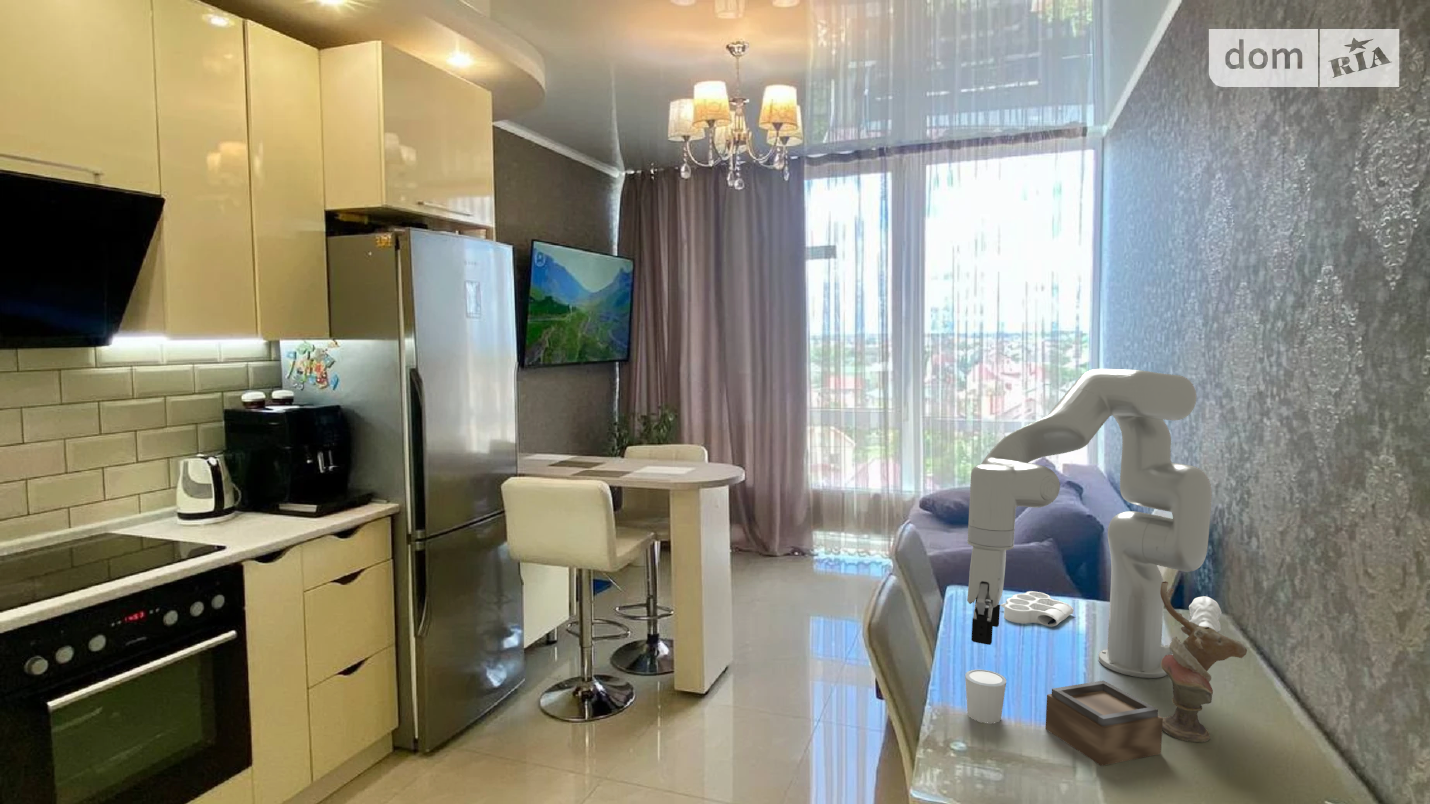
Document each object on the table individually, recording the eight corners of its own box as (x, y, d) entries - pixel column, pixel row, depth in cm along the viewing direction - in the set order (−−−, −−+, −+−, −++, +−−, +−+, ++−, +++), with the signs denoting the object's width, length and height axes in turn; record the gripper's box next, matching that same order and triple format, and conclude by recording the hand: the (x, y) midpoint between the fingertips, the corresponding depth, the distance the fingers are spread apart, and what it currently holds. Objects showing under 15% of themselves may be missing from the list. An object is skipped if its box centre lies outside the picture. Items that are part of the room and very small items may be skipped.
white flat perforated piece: (1051, 633, 175) (989, 617, 185) (1077, 614, 188) (1017, 600, 198) (1052, 619, 174) (989, 603, 184) (1078, 600, 188) (1018, 587, 198)
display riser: (1101, 718, 134) (1103, 678, 133) (1160, 753, 122) (1163, 710, 122) (1045, 728, 130) (1047, 687, 129) (1101, 765, 118) (1103, 720, 118)
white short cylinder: (1008, 727, 130) (1009, 687, 130) (966, 722, 132) (967, 683, 131) (1001, 708, 137) (1003, 670, 136) (961, 704, 138) (962, 667, 138)
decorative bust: (1262, 737, 125) (1242, 586, 125) (1198, 756, 122) (1177, 602, 122) (1206, 712, 136) (1187, 573, 136) (1146, 729, 133) (1126, 587, 133)
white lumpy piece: (1222, 596, 174) (1225, 616, 164) (1219, 631, 175) (1222, 654, 165) (1189, 591, 177) (1190, 611, 167) (1187, 626, 179) (1188, 647, 168)
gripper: (975, 524, 141) (970, 615, 142) (959, 544, 126) (954, 645, 127) (1018, 529, 138) (1013, 622, 139) (1008, 550, 122) (1002, 655, 124)
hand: (985, 633), depth 133 cm, fingers open, 9 cm apart
